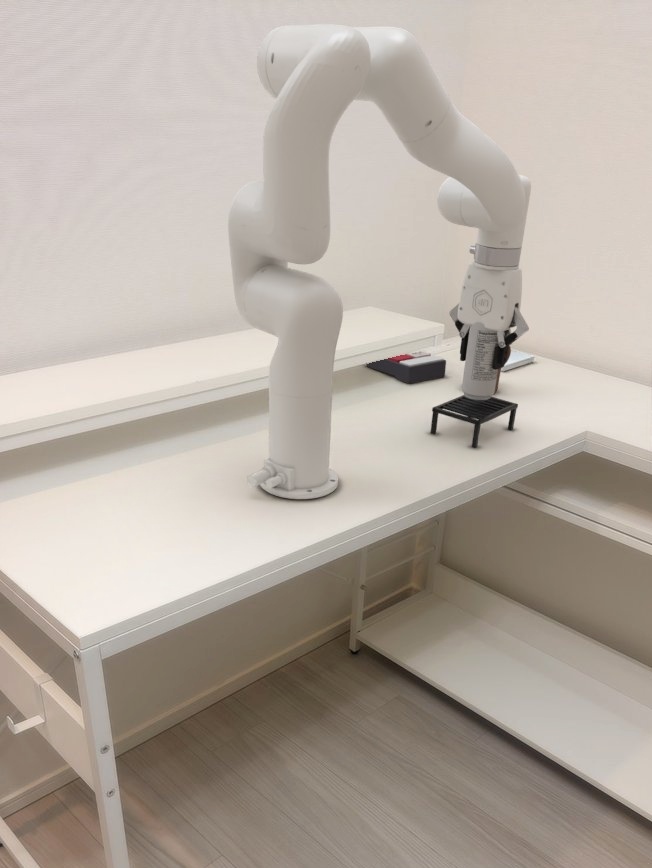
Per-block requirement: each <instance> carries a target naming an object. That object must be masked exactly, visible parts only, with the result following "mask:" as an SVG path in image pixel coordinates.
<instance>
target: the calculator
mask: <svg viewBox="0 0 652 868" xmlns="http://www.w3.org/2000/svg"><path fill="white" fill-rule="evenodd" d="M446 366H447V360H446V359H444V358H442V357H441V356H440V357H439V356H436V355H432V353H429V352H426V351H423V350H419V352H415V353H412V354H405V355H400V356H396V357H392V358H388V359H384V360H380V361H376V362H372V363H369V364H367V363H366V367H367V368H370V369H372V370H376V371H378V372H382V373H386V374H387V375H391V376H394V377H395V378H396V380H398V381H401V382H403V383H407V384H414V383H418V382H424V381H428V380H433V379H438V378H443V377H445V376H446V369H447V367H446Z"/></svg>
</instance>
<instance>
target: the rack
mask: <svg viewBox="0 0 652 868" xmlns="http://www.w3.org/2000/svg"><path fill="white" fill-rule="evenodd" d="M518 406H519V404H518V403H517V402H516V403H515V402H512V401H509V400H505V399H501V398H498V397H494V396H491V398H490V399H487V400H474V399H470V398H467V397H465V396H464V394H463V395H460V396H458V397H456V398H453V399H450V400H448V401H446V402H445V401H444V402H443V403H440V404H438V405H435V406H433V407H432V409H431V411H432V415H431V425H430V434H431V435H436V434H437V429H438V420H439V419H438V418H439V414H440V415H443V416H446V417H450V418H453V419H457V420H458V421H459V420H460V421H462V422H466V423H469V424H472V425H474V427H473V431H472V432H473V433H472V440H471V448H474V449H476V448H478V444H479V437H480V430H481V425H484V424H486V423H488V422H489V421H492V420H494V419H496V418H498V417H500V416H502V415H504V414H507V413H508V412H510V413H509V419H508V424H507V430H509V431H513V430H514V426H515V421H516V415H517V409H518Z"/></svg>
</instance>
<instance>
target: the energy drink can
mask: <svg viewBox="0 0 652 868" xmlns="http://www.w3.org/2000/svg"><path fill="white" fill-rule="evenodd" d="M484 326H485V325H484V324H483V323H481V322H476V323H474V325H472V326H471V325H470V330H469V338H468V345H467V353H466V360H465V361H464V369H463V375H462V383H461V391H462V392H463V395H464V396H465V397H467V398H470V399H474V400H487V399H490V398H491V397H492V395H494V394H495V393H496V392H495V386H496V379H497V373H498V369H497V370H494V369H493V368H492V366H493V359H494V352H495V348H496V347H497V346H498V345H499V343H498V338H497V332H496V331H493V330H489V329H487V328H485V327H484ZM494 392H495V393H494Z"/></svg>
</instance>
